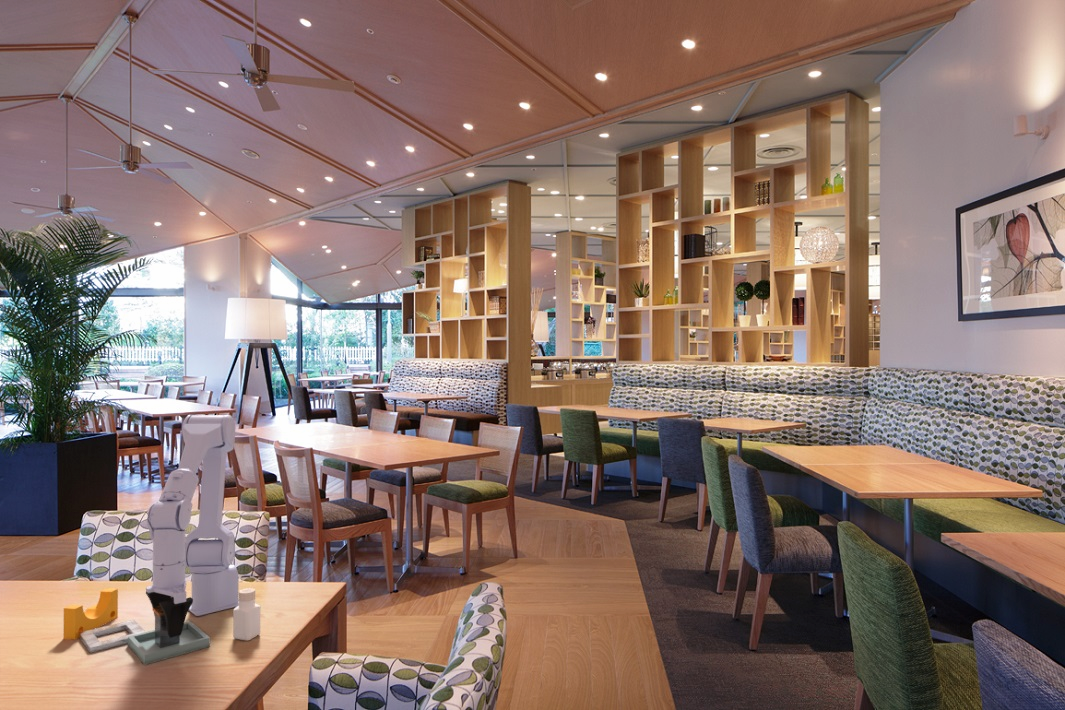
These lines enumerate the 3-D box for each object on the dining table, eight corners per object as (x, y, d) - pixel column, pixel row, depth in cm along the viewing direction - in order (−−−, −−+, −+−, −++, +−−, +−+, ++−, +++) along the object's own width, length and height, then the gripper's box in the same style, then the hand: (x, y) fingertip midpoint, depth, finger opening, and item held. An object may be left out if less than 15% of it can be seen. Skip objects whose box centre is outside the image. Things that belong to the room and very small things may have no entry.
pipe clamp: (99, 617, 152) (99, 587, 152) (117, 618, 151) (117, 588, 151) (55, 639, 140) (55, 607, 140) (75, 640, 139) (75, 608, 139)
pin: (175, 636, 139) (175, 602, 139) (182, 643, 136) (182, 607, 136) (152, 642, 137) (152, 607, 137) (158, 649, 134) (158, 613, 134)
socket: (134, 624, 147) (134, 619, 147) (147, 638, 140) (147, 633, 140) (79, 637, 140) (79, 632, 140) (90, 652, 133) (90, 647, 133)
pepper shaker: (231, 639, 140) (232, 592, 140) (246, 631, 144) (246, 586, 144) (247, 642, 138) (247, 595, 138) (261, 634, 142) (261, 588, 142)
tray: (190, 629, 145) (190, 621, 145) (209, 646, 136) (209, 637, 136) (128, 645, 137) (128, 636, 137) (144, 664, 128) (144, 655, 128)
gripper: (136, 557, 139) (136, 624, 139) (157, 574, 128) (157, 647, 128) (174, 550, 144) (174, 615, 144) (197, 566, 133) (197, 636, 133)
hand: (168, 630), depth 136 cm, fingers open, 7 cm apart
